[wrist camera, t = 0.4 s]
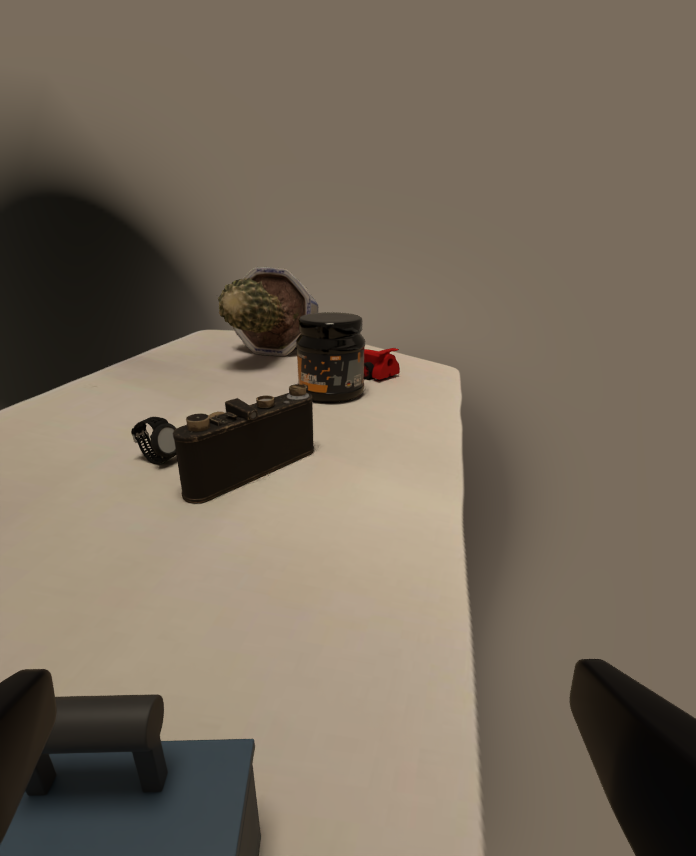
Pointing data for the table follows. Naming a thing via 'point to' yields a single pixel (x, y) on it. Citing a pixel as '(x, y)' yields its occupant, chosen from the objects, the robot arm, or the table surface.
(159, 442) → the smartwatch
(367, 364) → the toy car
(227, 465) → the camera
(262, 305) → the potted plant
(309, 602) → the table surface
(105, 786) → the lid
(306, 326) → the supplement container
